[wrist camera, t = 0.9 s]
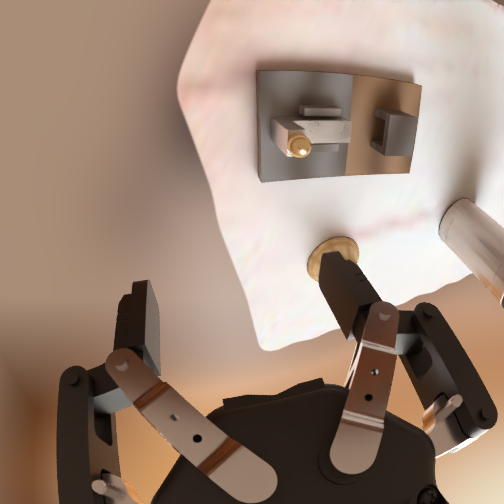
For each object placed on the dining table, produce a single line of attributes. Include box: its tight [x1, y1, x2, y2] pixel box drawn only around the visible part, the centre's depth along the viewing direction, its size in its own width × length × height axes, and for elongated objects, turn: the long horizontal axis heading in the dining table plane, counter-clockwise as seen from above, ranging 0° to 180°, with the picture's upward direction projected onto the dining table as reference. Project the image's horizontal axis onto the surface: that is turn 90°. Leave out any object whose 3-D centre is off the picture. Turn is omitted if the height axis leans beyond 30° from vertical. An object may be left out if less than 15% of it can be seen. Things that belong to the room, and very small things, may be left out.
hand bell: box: [307, 237, 359, 282], centre depth 37 cm, size 8×8×16 cm
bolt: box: [271, 117, 352, 158], centre depth 26 cm, size 8×2×7 cm, turn 91°
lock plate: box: [256, 70, 422, 183], centre depth 29 cm, size 20×12×5 cm, turn 91°
